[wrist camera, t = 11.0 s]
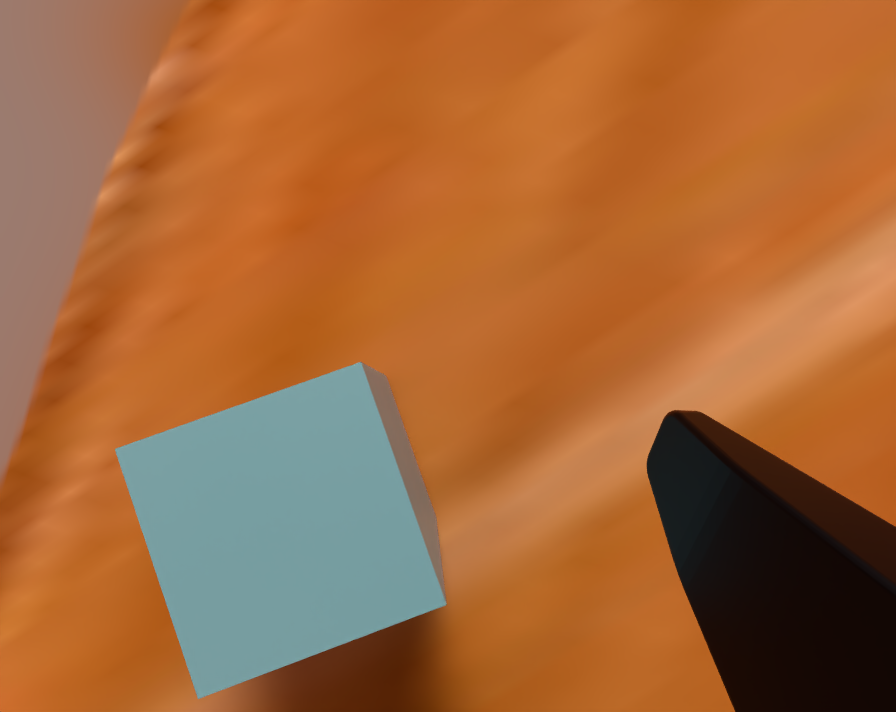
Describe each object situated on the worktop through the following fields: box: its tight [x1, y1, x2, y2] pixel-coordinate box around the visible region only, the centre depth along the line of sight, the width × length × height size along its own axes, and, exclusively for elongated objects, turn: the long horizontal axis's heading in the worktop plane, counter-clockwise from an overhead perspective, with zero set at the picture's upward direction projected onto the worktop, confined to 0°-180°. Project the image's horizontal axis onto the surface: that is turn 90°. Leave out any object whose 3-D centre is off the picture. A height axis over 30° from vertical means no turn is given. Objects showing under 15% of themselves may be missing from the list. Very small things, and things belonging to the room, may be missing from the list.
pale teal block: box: [115, 362, 447, 699], centre depth 17 cm, size 5×5×9 cm
